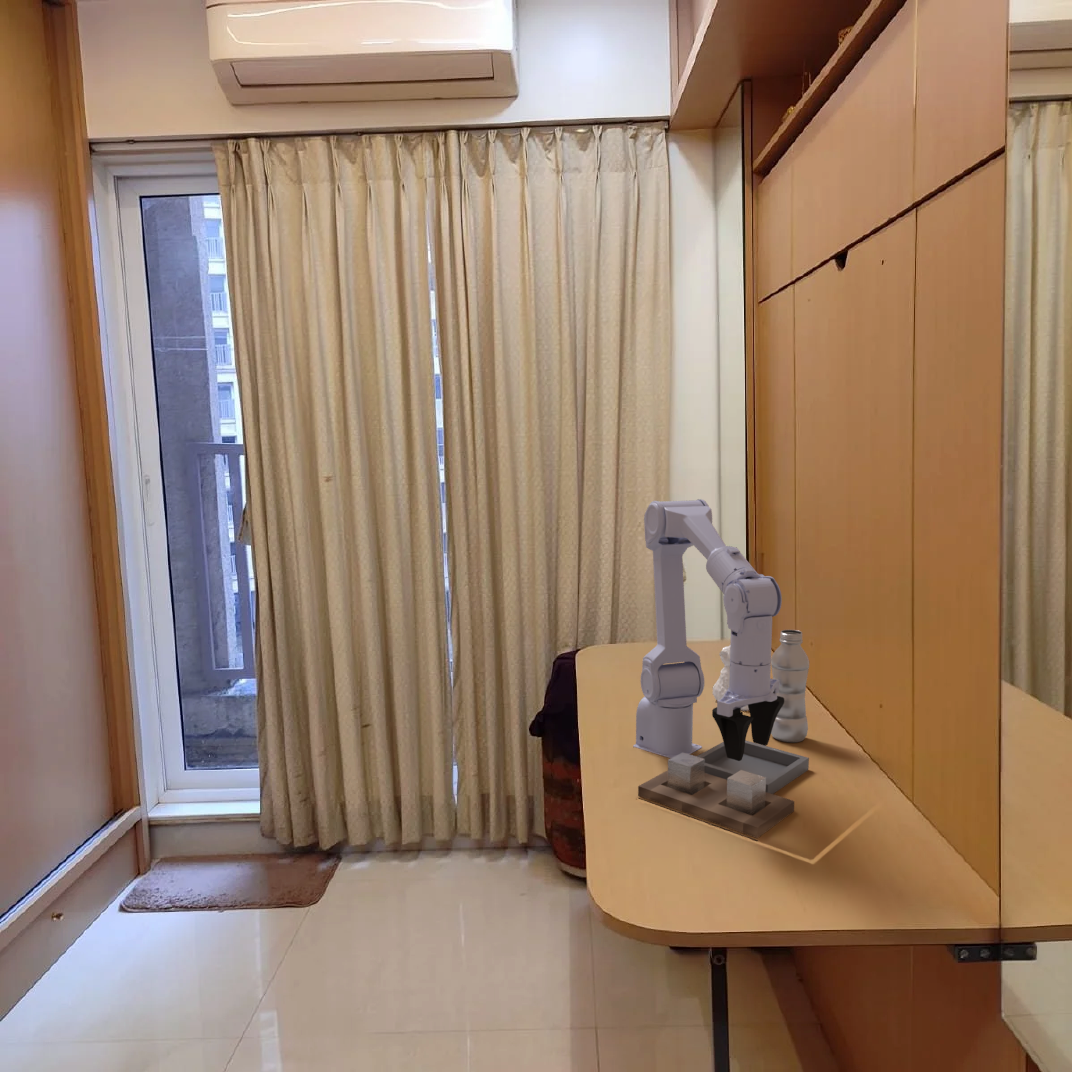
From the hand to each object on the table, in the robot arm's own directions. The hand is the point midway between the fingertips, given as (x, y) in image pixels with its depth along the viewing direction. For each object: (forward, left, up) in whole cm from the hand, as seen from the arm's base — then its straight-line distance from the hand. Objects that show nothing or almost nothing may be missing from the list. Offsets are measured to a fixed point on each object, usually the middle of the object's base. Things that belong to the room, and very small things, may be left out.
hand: (747, 750), depth 124 cm
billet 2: (+1, -2, -9) cm, 10 cm away
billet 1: (-9, -2, -9) cm, 13 cm away
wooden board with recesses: (-4, -2, -9) cm, 10 cm away
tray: (-6, +12, -9) cm, 17 cm away
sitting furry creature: (-26, +42, -10) cm, 51 cm away
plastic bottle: (-8, +30, -10) cm, 33 cm away
